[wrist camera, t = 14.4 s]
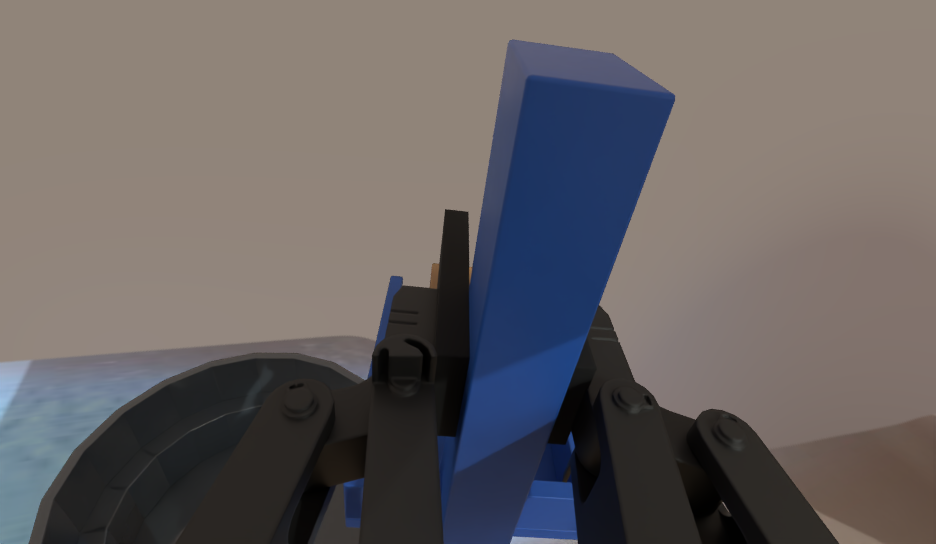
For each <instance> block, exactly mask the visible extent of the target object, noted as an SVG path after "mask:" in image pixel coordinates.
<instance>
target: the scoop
mask: <svg viewBox="0 0 936 544" xmlns="http://www.w3.org/2000/svg"><path fill="white" fill-rule="evenodd" d="M674 102H675V95H674V94H673V93H671V92H669V91H668V90H666V89H665V88H664V87H662V86H661V85H659V84H658V83H656V82H655V81H653V80H652V79H650V78H649V77H647V76H646V75H644V74H643V73H641V72H640V71H638V70H637V69H635V68H634V67H632V66H631V65H629V64H628V63H626V62H625V61H623V60H621V59H620V58H619V57H617V56H616V55H614V54H611V53H605V52H598V51H591V50H583V49H576V48H569V47H562V46H554V45H548V44H540V43H533V42H526V41H519V40H510V41H509V43H508V47H507V54H506V59H505V66H504V73H503V79H502V85H501V91H500V97H499V104H498V110H497V116H496V122H495V129H494V135H493V141H492V148H491V154H490V160H489V166H488V173H487V179H486V186H485V192H484V198H483V204H482V210H481V217H480V224H479V230H478V236H477V242H476V249H475V255H474V261H473V267H472V273H471V280H470V286H469V335H470V360H469V365H468V371H467V376H466V382H465V387H464V393H463V399H462V404H461V410H460V415H459V421H458V426H457V432H456V437H447V436H437V439H438V455H439V472H440V489H441V506H442V523H443V539H444V544H510V542H511V539H512V537H513V536H517V537H536V538H554V539H572V540H577V529H576V519H575V509H574V499H573V489H572V479H571V474H570V476H569V479H568V481H567V483H565V482H562V479H563V473H564V471H565V468H566V466H567V464H568V461H569V459H570V457H571V455H572V452H573V450H574V448H575V445H574V441H573V436H572V432H571V433H570V435H569V437H568V440H567V442H566V445H560V444H547V443H548V440H549V437H550V434H551V432H552V429H553V426H554V424H555V421H556V418H557V416H558V413H559V410H560V408H561V405H562V402H563V400H564V397H565V394H566V392H567V389H568V386H569V383H570V381H571V378H572V375H573V373H574V370H575V367H576V365H577V362H578V359H579V357H580V354H581V351H582V349H583V346H584V343H585V341H586V338H587V335H588V332H589V330H590V327H591V324H592V322H593V319H594V316H595V314H596V311H597V308H598V306H599V303H600V300H601V298H602V295H603V292H604V289H605V287H606V284H607V281H608V279H609V276H610V273H611V271H612V268H613V265H614V263H615V260H616V257H617V254H618V252H619V249H620V247H621V244H622V241H623V238H624V236H625V233H626V230H627V228H628V225H629V222H630V220H631V217H632V214H633V212H634V209H635V206H636V204H637V200H638V198H639V196H640V193H641V190H642V187H643V185H644V182H645V179H646V176H647V174H648V171H649V169H650V166H651V163H652V160H653V158H654V155H655V152H656V150H657V147H658V144H659V142H660V139H661V136H662V134H663V131H664V128H665V126H666V123H667V120H668V118H669V115H670V112H671V109H672V107H673V104H674ZM402 284H403V278H402V277H400V276H391V278H390V283H389V287H388V292H387V296H386V300H385V304H384V309H383V313H382V318H381V322H380V326H379V331H378V335H377V340H376V344H375V347H376V346H377V345H378V344H379V343H380V342H381V341H382V340H383V339H385V334H386V329H387V324H388V319H389V315H390V310H391V305H392V300H393V296H394V295H395V294H396V293H397V292H398V291H399V290H400V288H401V287H402ZM374 349H375V348H374ZM370 376H372V361H371V366H370V370H369V375H368V378H369V377H370ZM363 486H364V478H361V479H357V480H354V481H350V482H346V483H344V484H343V488H344V506H345V522H346V527H354V528H360V522H361V510H362V498H363Z"/></svg>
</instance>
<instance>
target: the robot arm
mask: <svg viewBox="0 0 936 544" xmlns="http://www.w3.org/2000/svg"><path fill="white" fill-rule="evenodd" d="M469 360H470V335H469V224H468V212H464V211H455V210H446V209H445V217H444V226H443V236H442V245H441V254H440V263H439V272H438V283H437V289H434V288H423V287H413V286H402V287H401V288H400V290H399V291H398V292H397V293H396V294H395V295H394V296H393V300H392V305H391V310H390V315H389V319H388V324H387V329H386V334H385V339H383V340H382V341H381V342H380V343H379V344H378V345H377V346H376V347H375V349H374V352H373V355H372V376H370V377H369V378H368V379H367V380H365V381H363V382H361V383H359V384H357V385H354V386H350V387H346V388H341V389H336V390H331V389H330V388H329V387H328V386H327V385H326V384H325V383H323V382H320V381H317V380H315V379H297V380H293V381H289V382H286V383H284V384H283V385H281V386H279V387H277V388H276V389H275V390H274V391H273V392H272V393H271V394H270V395H269V396H268V397H267V399H266V401H265V402H264V404H263V405H262V407H261V409H260V410H259V412H258V413H257V415H256V416H255V418H254V420H253V421H252V423H251V424H250V426H249V427H248V429H247V431H246V432H245V434H244V435H243V437H242V439H241V440H240V442H239V443H238V445H237V446H236V448H235V450H234V451H233V453H232V454H231V456H230V458H229V459H228V461H227V462H226V464H225V465H224V467H223V469H222V470H221V472H220V473H219V475H218V477H217V478H216V480H215V481H214V483H213V484H212V486H211V488H210V489H209V491H208V492H207V494H206V496H205V497H204V499H203V500H202V502H201V503H200V505H199V507H198V508H197V510H196V511H195V513H194V515H193V516H192V518H191V519H190V521H189V522H188V524H187V526H186V527H185V529H184V530H183V532H182V534H181V535H180V537H179V538H178V540H177V541H176V543H175V544H314V541H315V539H316V536H317V534H318V531H319V529H320V526H321V524H322V521H323V519H324V516H325V513H326V511H327V508H328V506H329V503H330V501H331V498H332V496H333V493H334V491H335V488H336V485H338V484H342V483H346V482H350V481H354V480H357V479H361V478H364V486H363V498H362V510H361V522H360V534H359V544H444V539H443V523H442V506H441V489H440V472H439V455H438V439H437V436H447V437H456V432H457V426H458V421H459V415H460V410H461V404H462V399H463V393H464V387H465V382H466V376H467V371H468V365H469ZM571 432H572V436H573V441H574V445H575V448H574V450H573V452H572V455H571V457H570V459H569V461H568V464H567V466H566V468H565V471H564V473H563V479H562V482H565V483H567V481H568V479H569V476H570V474H571V479H572V489H573V499H574V509H575V519H576V529H577V539H578V544H839V543H838V541H837V540H836V539H835V537H834V536H833V535H832V533H831V532H830V531H829V529H828V528H827V527H826V525H825V524H824V523H823V521H822V520H821V519H820V517H819V516H818V515H817V513H816V512H815V511H814V509H813V508H812V507H811V505H810V504H809V503H808V501H807V500H806V499H805V497H804V496H803V495H802V494H801V492H800V491H799V490H798V488H797V487H796V486H795V484H794V483H793V482H792V480H791V479H790V478H789V476H788V475H787V474H786V472H785V471H784V470H783V468H782V467H781V466H780V464H779V463H778V462H777V460H776V459H775V458H774V456H773V455H772V454H771V452H770V451H769V450H768V448H767V447H766V446H765V444H764V443H763V442H762V440H761V439H760V438H759V436H758V435H757V434H756V433H755V431H753V430H752V428H751V427H749V425H748V424H747V423H746V422H744V421H742V420H741V419H740V418H738V417H737V416H735V415H733V414H730V413H728V412H725V411H723V410H716V409H709V410H706V411H703V412H702V413H701V414H700V415H699V416H698V418H697V419H696V420H695V419H692V418H689V417H686V416H683V415H680V414H677V413H674V412H671V411H669V410H666V409H664V408H662V407H660V406H659V405H658V403H657V401H656V400H655V398H654V396H653V395H652V394H651V393H650V392H649V391H648V390H647V389H646V388H645V387H643V386H641V385H640V384H638V383H636V382H635V380H634V378H633V375H632V373H631V370H630V368H629V365H628V363H627V360H626V358H625V355H624V353H623V350H622V347H621V345H620V343H619V342H618V337H617V335H616V332H615V331H614V327H613V325H612V322H611V320H610V318H609V315H608V314H607V313H606V312H605V311H604V310H603V309H602V308H601V307H600V306H598V308H597V311H596V314H595V316H594V319H593V322H592V324H591V327H590V330H589V332H588V335H587V338H586V341H585V343H584V346H583V349H582V351H581V354H580V357H579V359H578V362H577V365H576V367H575V370H574V373H573V375H572V378H571V381H570V383H569V386H568V389H567V392H566V394H565V397H564V400H563V402H562V405H561V408H560V410H559V413H558V416H557V418H556V421H555V424H554V426H553V429H552V432H551V434H550V437H549V440H548V443H547V444H560V445H566V442H567V440H568V437H569V435H570V433H571ZM722 502H724V504H725V505H726V507H727V509H728V510H729V512H728V510H727V509H726V508H725V506H724V505H723V503H722Z"/></svg>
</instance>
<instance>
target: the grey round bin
mask: <svg viewBox="0 0 936 544" xmlns="http://www.w3.org/2000/svg"><path fill="white" fill-rule="evenodd" d="M297 379H315V380H317V381H320V382H323V383H325V384H326V385H327V386H328V387H329V388H330V389H331V390H336V389H341V388H346V387H350V386H354V385H357V384H359V383H361V382H363V381H365V380H364V379H362V378H360V377H358V376H357V375H355V374H353V373H352V372H350V371H348V370H346V369H345V368H343V367H341V366H339V365H338V364H336V363H334V362H331V361H327V360H323V359H319V358H314V357H310V356H306V355H302V354H298V353H252V354H247V355H242V356H237V357H231V358H226V359H221V360H216V361H211V362H208V363H206V364H203V365H201V366H198V367H196V368H193V369H191V370H188V371H186V372H183V373H181V374H178V375H176V376H173V377H171V378H168V379H166V380H164V381H162V382H160V383H159V384H157V385H155V386H154V387H152V388H151V389H149V390H147V391H146V392H144V393H143V394H141V395H139V396H138V397H136V398H135V399H133V400H132V401H130V402H128V403H127V404H125V405H124V406H122V407H120V408H119V409H118V410H116V411H115V412H114V413H113V414H112V415H111V416H110V417H109V418H108V419H107V420H106V421H104V422H103V423H102V424H101V425H100V426H99V427H98V428H97V429H96V430H95V431H94V432H93V433H92V434H91V435H90V436H89V437H88V438H87V439H85V440H84V441H83V442H82V443H81V444H80V445H79V446H78V447H77V448H76V449H75V450H74V451H73V453H72V454H71V456H70V457H69V459H68V460H67V462H66V463H65V465H64V466H63V468H62V469H61V471H60V472H59V474H58V475H57V477H56V478H55V480H54V481H53V483H52V485H51V486H50V488H49V489H48V491H47V492H46V494H45V495H44V497H43V498H42V500H41V503H40V506H39V509H38V513H37V516H36V520H35V523H34V527H33V530H32V534H31V537H30V541H29V544H175V543H176V541H177V540H178V538H179V537H180V535H181V534H182V532H183V530H184V529H185V527H186V526H187V524H188V522H189V521H190V519H191V518H192V516H193V515H194V513H195V511H196V510H197V508H198V507H199V505H200V503H201V502H202V500H203V499H204V497H205V496H206V494H207V492H208V491H209V489H210V488H211V486H212V484H213V483H214V481H215V480H216V478H217V477H218V475H219V473H220V472H221V470H222V469H223V467H224V465H225V464H226V462H227V461H228V459H229V458H230V456H231V454H232V453H233V451H234V450H235V448H236V446H237V445H238V443H239V442H240V440H241V439H242V437H243V435H244V434H245V432H246V431H247V429H248V427H249V426H250V424H251V423H252V421H253V420H254V418H255V416H256V415H257V413H258V412H259V410H260V409H261V407H262V405H263V404H264V402H265V401H266V399H267V397H268V396H269V395H270V394H271V393H272V392H273V391H274V390H275V389H276V388H277V387H279V386H281V385H283V384H284V383H286V382H289V381H293V380H297ZM343 484H344V483H342V484H338V485H336V488H335V491H334V493H333V496H332V498H331V501H330V503H329V506H328V508H327V511H326V513H325V516H324V519H323V521H322V524H321V526H320V529H319V531H318V534H317V536H316V539H315V541H314V544H359V534H360V528H354V527H346V522H345V506H344V488H343Z"/></svg>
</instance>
